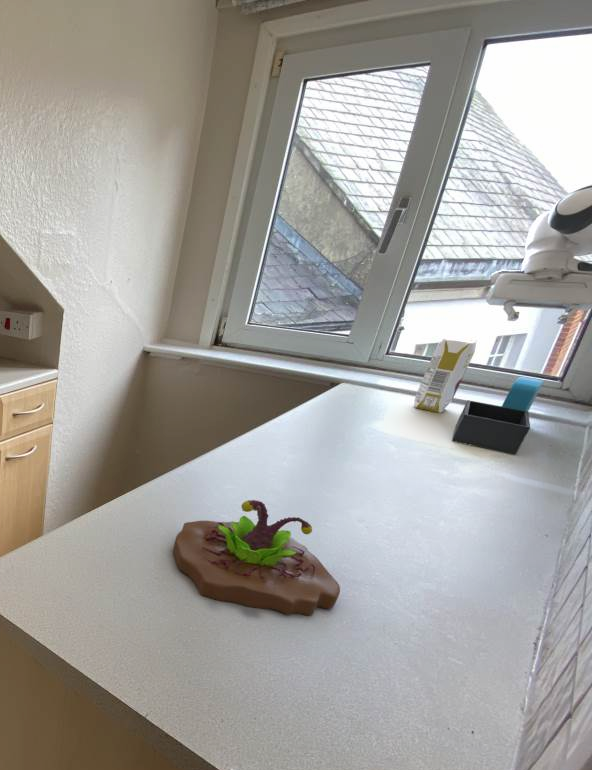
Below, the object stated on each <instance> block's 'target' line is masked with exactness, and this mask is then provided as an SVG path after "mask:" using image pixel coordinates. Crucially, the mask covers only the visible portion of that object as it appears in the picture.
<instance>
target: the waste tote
mask: <svg viewBox="0 0 592 770" xmlns="http://www.w3.org/2000/svg"><path fill="white" fill-rule="evenodd" d="M529 414H530V413H529V411H523V410H518V409H512V408H507V407H502V405H495V404H491V403H485V402H479V401H473V400H466V403H465V405H464V407H463V409H462V411H461V413H460V415H459V418H458V420H457V422H456V424H455V427H454V431H453V434H452V438H451V441H452V442H455V441H457V442H456V443H460V442H461V443H460V444H464V443H466V444H465V445H469V444H471V445H469V446H473V445H474V446H473V447H478V448H483V449H486V450H491V451H495V452H500V453H503V454H508V455H513V456H516V455H517V453H518V451H519V450H520V448H521V445H522V444H523V442H524V440H525V439H526V437H527V434H528V433H529V431H530V429H531V423H530V416H529Z"/></svg>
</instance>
